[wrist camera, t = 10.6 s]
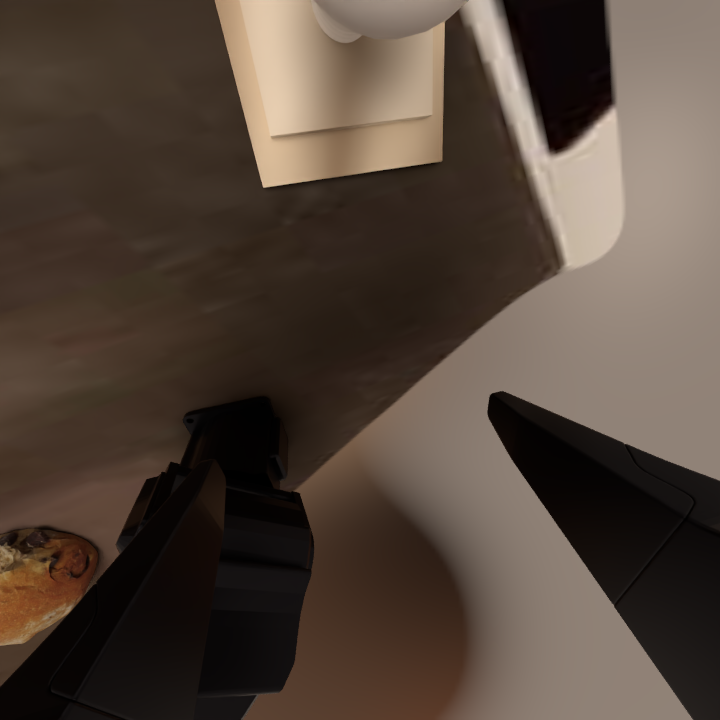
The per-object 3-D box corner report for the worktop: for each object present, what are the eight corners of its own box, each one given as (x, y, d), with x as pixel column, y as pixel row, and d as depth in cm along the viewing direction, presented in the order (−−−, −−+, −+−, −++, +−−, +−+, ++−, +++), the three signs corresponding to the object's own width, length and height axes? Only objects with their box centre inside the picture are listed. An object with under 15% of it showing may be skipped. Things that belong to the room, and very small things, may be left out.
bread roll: (-9, 524, 29) (-99, 633, 24) (-14, 513, 23) (-135, 656, 18) (103, 546, 34) (48, 642, 29) (124, 543, 28) (58, 663, 23)
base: (264, 187, 17) (261, 188, 15) (162, -213, 10) (137, -289, 9) (434, 162, 18) (449, 160, 16) (437, -217, 11) (463, -287, 10)
